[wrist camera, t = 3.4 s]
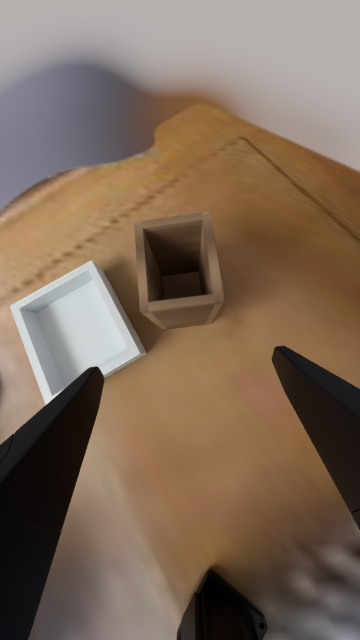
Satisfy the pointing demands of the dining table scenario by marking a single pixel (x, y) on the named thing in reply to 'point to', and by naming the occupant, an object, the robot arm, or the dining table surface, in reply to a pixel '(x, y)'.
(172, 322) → the walnut crate
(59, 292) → the grey tray
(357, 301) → the dining table surface
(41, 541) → the robot arm
